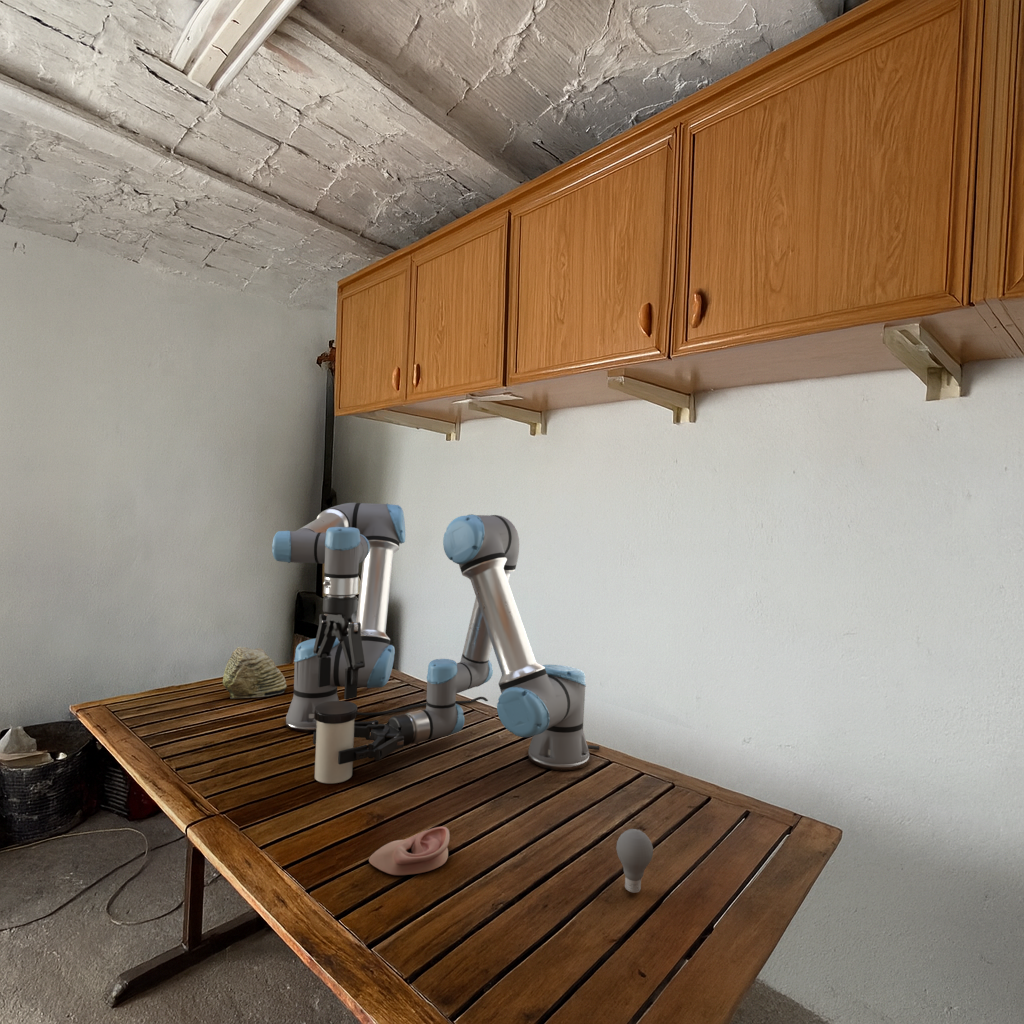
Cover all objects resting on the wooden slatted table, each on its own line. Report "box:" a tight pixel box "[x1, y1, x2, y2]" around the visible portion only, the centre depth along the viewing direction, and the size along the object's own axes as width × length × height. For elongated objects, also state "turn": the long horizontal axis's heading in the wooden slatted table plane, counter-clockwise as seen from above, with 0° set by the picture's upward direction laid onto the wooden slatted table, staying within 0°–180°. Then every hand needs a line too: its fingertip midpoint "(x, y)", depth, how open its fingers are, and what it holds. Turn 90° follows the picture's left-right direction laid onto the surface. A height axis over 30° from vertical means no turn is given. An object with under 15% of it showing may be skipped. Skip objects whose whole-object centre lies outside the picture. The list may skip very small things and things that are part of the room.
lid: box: [314, 700, 359, 724], centre depth 144 cm, size 9×9×2 cm
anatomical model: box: [368, 826, 451, 876], centre depth 112 cm, size 13×4×12 cm
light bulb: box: [615, 828, 654, 894], centre depth 106 cm, size 6×6×10 cm
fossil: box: [222, 646, 288, 699], centre depth 198 cm, size 9×18×15 cm, turn 132°
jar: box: [313, 718, 356, 784], centre depth 144 cm, size 8×8×15 cm
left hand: (336, 691), depth 144 cm, fingers open, 11 cm apart
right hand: (325, 747), depth 144 cm, fingers open, 13 cm apart
